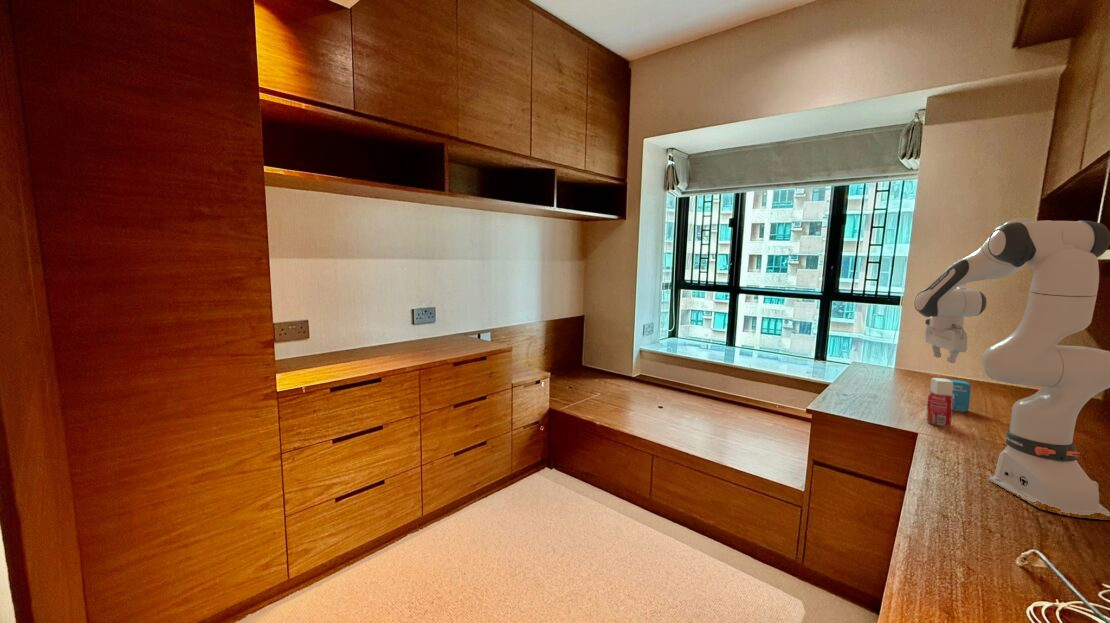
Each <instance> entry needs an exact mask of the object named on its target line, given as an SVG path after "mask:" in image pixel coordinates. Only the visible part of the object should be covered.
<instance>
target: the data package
mask: <svg viewBox="0 0 1110 623" xmlns="http://www.w3.org/2000/svg"><path fill="white" fill-rule="evenodd" d="M938 378H939V379H945V378H943V377H942V378H941V377H938ZM947 379H948V380H950V381H952V382H953V391H952V395H951V397H952V398H953V411H955V412H957V413H958V412H960V413H967V412H968V411H969V409H970V402H971V401H970V399H971V389H972V384H971V383H970V382H968V381H965V380H958V379H957V380H956V379H950V378H947ZM929 386H930V387H929V389H930V388H931V382H930V384H929ZM930 393H931V391H930V390H929V394H930ZM953 411H952V412H953Z"/></svg>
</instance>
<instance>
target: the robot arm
mask: <svg viewBox="0 0 1110 623" xmlns="http://www.w3.org/2000/svg"><path fill="white" fill-rule="evenodd" d="M1109 247H1110V230H1109V229H1108V227H1107V226H1106V225H1105V224H1103V223H1101V222H1098V221H1094V220H1093V221H1092V220H1077V221H1075V220H1036V219H1032V218H1027V217H1019V218H1018V217H1017V218H1014V219H1010V220H1009V221H1006V222H1005V223H1004V224H1002V225H1000V226H998V227H996V228H995V229H994V230H993V231H992V232H991V234H990V236H989V237H988V238H987V240H986V241H985V242H984V243H983V245H981V246H980V247H979V248H978V249H977V250H976V251H974V252H972V253H971V254H969V255H968V256H965V257H964V258H961V259H959V260H957V261H956V262H954V263H952V264H951V265H950V266H949V267H948V268H947V269H946V270H945V271H944V272H942V274H940V275H939V276H938V277H937V278H936V279H935V280H934V281H933V282H932V283H930V285H928V286H927V287H925V288H923V289H922V290H921V291H920V292H919V293H917V295H916V297H914V298H915V299H914V304H913V305H914V308H915V310H916V311H917V312H918V313H919V314H921V315H922V316H923V317H926V319H925V320H924V324H925V337H924V338H925V341H926V343H927V344H928V345H931V349H932V351H933V354H932V356H933V357H934V358H938V359H940V358H942V352H941V349H944V350H946V351H947V350H948V353H949V355H948V356H947V358H946V359H947V363H950V364H955V363H956V359H957V357H958V356H959V353H966V352H967V350H968V334H967V332H966V331H965V329H964V324H965V323H964V322H965V318H966V317H967V318H968V317H969V318H970V317H971V318H972V317H977V316H979V315H981V314H982V313H984V311H985V310H986V308H987V304H988V301H987V297H986V296H985V294H984V293H983V292H982V291H980V290H979V289H974V288H971V287H970V286H968V285H967V283H973V282H978V281H979V282H980V281H986V280H994V279H1001V278H1003V279H1004V278H1006V277H1009V276H1011V275H1014V274H1015V273H1017V272H1019V271H1020V270H1022V269H1023V268H1024V267H1025V266H1026V265H1028V266H1029V267H1030V268H1031V269H1032V279H1031V281H1030V282H1031V283H1030V286H1029V292H1028V297H1027V302H1026V305H1025V310H1024V313H1023V316H1022V319H1021V321H1020V322H1019V324H1018V326H1017V327H1016V328H1015V330H1014V331H1012V332H1011V333H1010V334H1009V335H1008V336H1007V337H1006V338H1004V339H1003V340H1001V341H999V342H997V343H995V344H993V345H990V346H989V347H988V348H986V349H985V350H984V352H983V353H982V355H981V359H980V366H981V369H982V370H983V372H984V373H985V375H986V376H987V377H988V378H990V379H992V380H995V381H998V382H1002V383H1008V384H1012V385H1021V386H1032V387H1033V386H1034V387H1035V386H1036V387H1040V388H1039V390H1038V391H1037V392H1035V393H1034V394H1031V395H1030V396H1026V397H1022V398H1021V399H1018V400H1017V401H1015V402H1014V404H1013V405H1012V407H1011V413H1010V423H1009V429H1007V431H1006V434H1005V444H1006V446H1005V447H1004V449H1003V450H1002V451H1001V452H1000V453H999V455H998V459H997V464H996V468H995V471H994V475H990V476H989V477H988V481H989V480H990V481H992V482H994V483H996V484H998V485H999V486H1001V487H1004V488H1005V489H1007V490H1009V491H1011V492H1013V493H1016V494H1017V495H1020V496H1021V497H1023V498H1025V499H1027V500H1029V501H1032V502H1036V501H1039V502H1041V503H1042V504H1046V505H1048V506H1050V507H1055V508H1058V509H1060V510H1061V511H1060V512H1065V513H1072V514H1079V515H1091V514H1094V513H1101V514H1104V515H1106V516H1110V511H1109V510H1108V508H1106V507H1104V506H1103V505H1102V504H1101V503H1100V492H1099V489H1100V488H1099V487H1100V486H1099V483H1098V482H1097V481H1095V480H1092V479H1091V478H1090V477H1089V476H1088V475H1087V473H1086V472H1085V470H1084V469H1083V468H1082V467H1081V465H1080V463H1079V462H1078V458H1079V457H1080V455H1079V454H1081V452H1080V451H1077V448H1076V445H1075V443H1074V442H1073V440H1074V433H1075V428H1076V423H1077V418H1078V417H1079V416H1078V415H1079V413H1080V412H1081V410H1082V408H1083V407H1084V406H1085V405H1086V404H1087V403H1088V402H1089V401H1090V399H1092V398H1093V397H1094V396H1096V395H1097V394H1099V393H1101V392H1102V391H1105V390H1108V389H1109V388H1110V351H1109V350H1105V349H1101V348H1094V347H1089V346H1081V345H1078V346H1077V345H1062V344H1060V345H1059V343H1060V342H1061V341H1062V340H1064V338H1066V337H1068V336H1069V335H1070V336H1071V335H1072V334H1075V333H1078V332H1081V331H1083V330H1085V329H1087V328H1088V327H1089V326H1090V325H1091V324H1092V321H1093V320H1092V319H1093V316H1094V311H1095V307H1096V303H1097V302H1096V301H1097V296H1098V291H1099V283H1100V267H1099V260H1098V258H1099V257H1102V255H1103V254H1104V253H1105V252H1106V251H1107V250H1108V249H1109ZM990 481H989V482H990ZM992 482H991V483H992ZM999 486H998V487H999ZM1035 504H1036V503H1035ZM1053 510H1054V509H1053Z"/></svg>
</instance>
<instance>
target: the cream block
mask: <svg viewBox="0 0 1110 623" xmlns="http://www.w3.org/2000/svg"><path fill="white" fill-rule="evenodd" d="M939 378H940V377H932V378H931V379H930V383H931V388H930V387H929V392H930V391H931V392H933V393H935V394H939V395H952V391H953V382H952V381H950V380H948V379H949V378H944V379H939Z"/></svg>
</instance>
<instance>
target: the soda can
mask: <svg viewBox="0 0 1110 623" xmlns="http://www.w3.org/2000/svg"><path fill="white" fill-rule="evenodd" d="M952 410H953V398H952V397H951V395H939V394H935V393H933V392H931V393H930V392H929V394H928V397H927V402H926V416H925V418H926V421H927V422H928V423H929V424H931V425H933V426H938V427H947V426H950V425H951V423H952V418H953V411H952Z"/></svg>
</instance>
